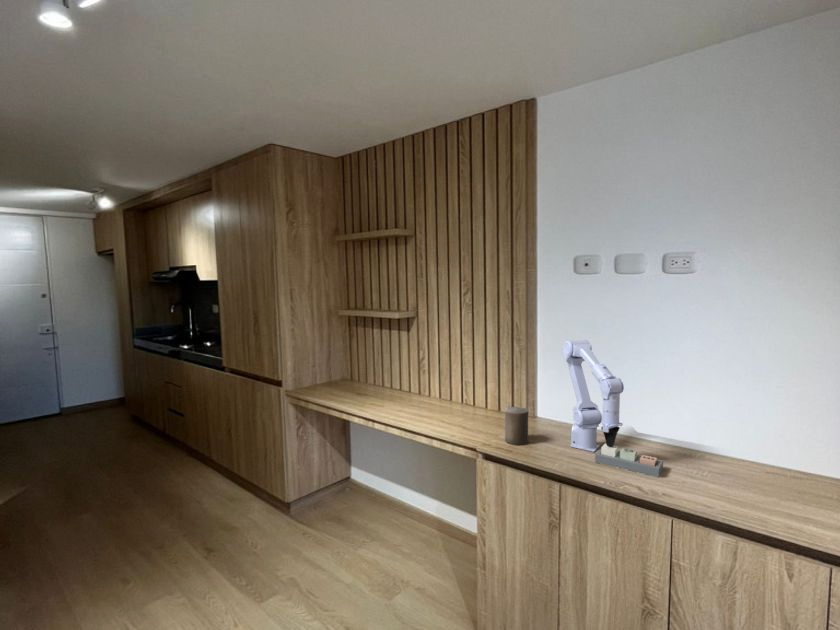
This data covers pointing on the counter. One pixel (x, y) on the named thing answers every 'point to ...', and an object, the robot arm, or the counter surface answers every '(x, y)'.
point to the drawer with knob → (609, 450)
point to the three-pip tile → (648, 460)
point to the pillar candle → (516, 425)
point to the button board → (629, 464)
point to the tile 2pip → (628, 454)
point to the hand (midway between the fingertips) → (610, 445)
